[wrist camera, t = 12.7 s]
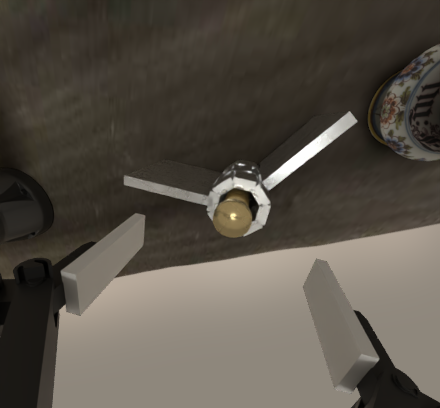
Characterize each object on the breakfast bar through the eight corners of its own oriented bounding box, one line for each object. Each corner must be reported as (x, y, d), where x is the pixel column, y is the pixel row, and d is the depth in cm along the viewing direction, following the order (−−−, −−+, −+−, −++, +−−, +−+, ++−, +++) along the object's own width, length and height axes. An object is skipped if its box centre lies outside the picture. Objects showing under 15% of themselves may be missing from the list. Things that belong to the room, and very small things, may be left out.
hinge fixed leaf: (163, 181, 37) (123, 206, 26) (166, 142, 34) (124, 150, 23) (258, 204, 35) (259, 241, 24) (269, 165, 33) (277, 187, 22)
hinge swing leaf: (241, 208, 36) (235, 245, 25) (214, 179, 35) (195, 204, 24) (331, 137, 30) (375, 146, 19) (302, 99, 28) (330, 84, 18)
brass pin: (228, 189, 35) (209, 232, 22) (233, 167, 34) (216, 198, 20) (250, 194, 35) (246, 241, 21) (256, 172, 33) (256, 207, 20)
